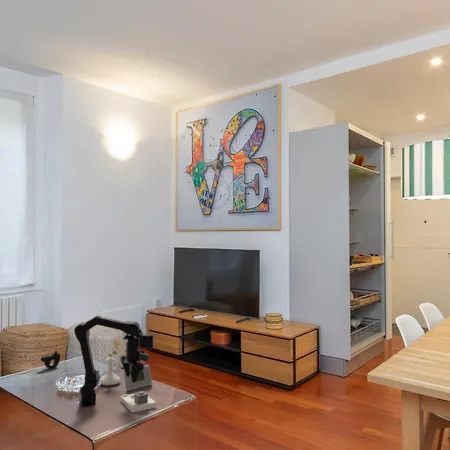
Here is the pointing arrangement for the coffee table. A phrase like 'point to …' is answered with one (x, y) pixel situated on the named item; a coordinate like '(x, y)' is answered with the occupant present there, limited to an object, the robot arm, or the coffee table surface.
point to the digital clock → (139, 379)
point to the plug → (141, 397)
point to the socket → (133, 406)
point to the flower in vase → (110, 376)
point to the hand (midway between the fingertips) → (131, 379)
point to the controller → (49, 358)
